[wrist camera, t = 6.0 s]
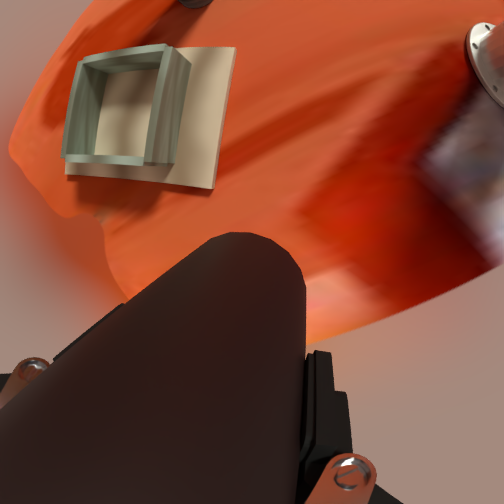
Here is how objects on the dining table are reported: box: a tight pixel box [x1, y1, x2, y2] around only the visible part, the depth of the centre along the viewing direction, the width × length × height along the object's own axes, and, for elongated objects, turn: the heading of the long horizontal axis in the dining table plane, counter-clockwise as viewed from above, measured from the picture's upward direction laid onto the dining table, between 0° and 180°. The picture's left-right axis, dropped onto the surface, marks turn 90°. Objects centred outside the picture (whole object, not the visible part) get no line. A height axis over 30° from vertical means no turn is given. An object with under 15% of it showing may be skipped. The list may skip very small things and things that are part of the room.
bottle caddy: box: [61, 43, 237, 189], centre depth 24 cm, size 20×15×6 cm
